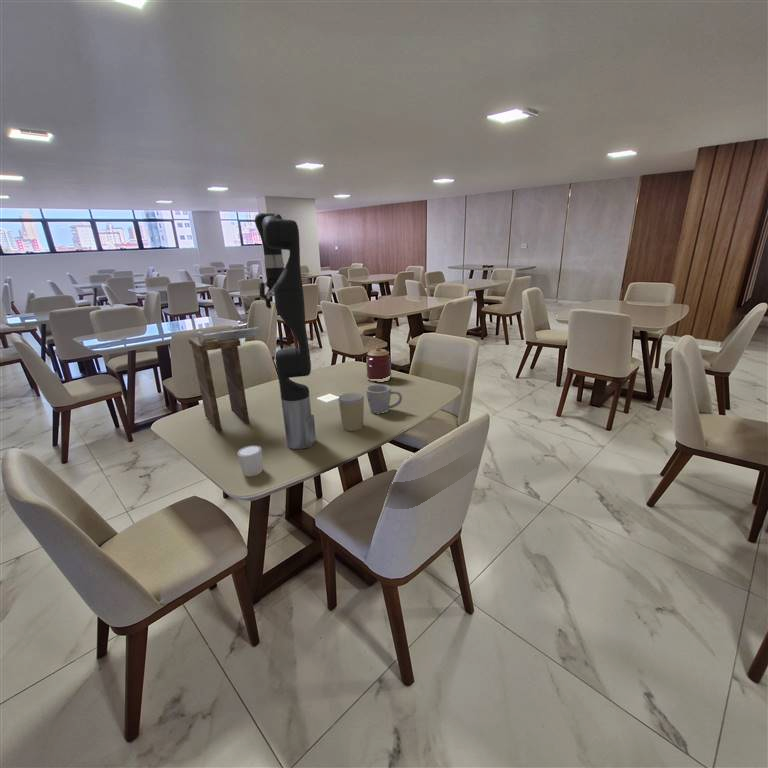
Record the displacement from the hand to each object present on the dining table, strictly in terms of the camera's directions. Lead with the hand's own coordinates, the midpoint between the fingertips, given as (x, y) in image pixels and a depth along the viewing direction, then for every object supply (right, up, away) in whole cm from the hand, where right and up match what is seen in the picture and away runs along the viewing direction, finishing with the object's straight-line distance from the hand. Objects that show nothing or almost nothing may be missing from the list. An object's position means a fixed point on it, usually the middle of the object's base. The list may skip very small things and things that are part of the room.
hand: (279, 307), depth 158 cm
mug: (+44, -44, -2) cm, 62 cm away
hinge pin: (-14, -15, -16) cm, 26 cm away
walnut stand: (-20, -47, -5) cm, 51 cm away
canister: (+41, -30, +40) cm, 65 cm away
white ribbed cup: (+4, -59, -44) cm, 74 cm away
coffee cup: (+32, -48, -16) cm, 60 cm away
